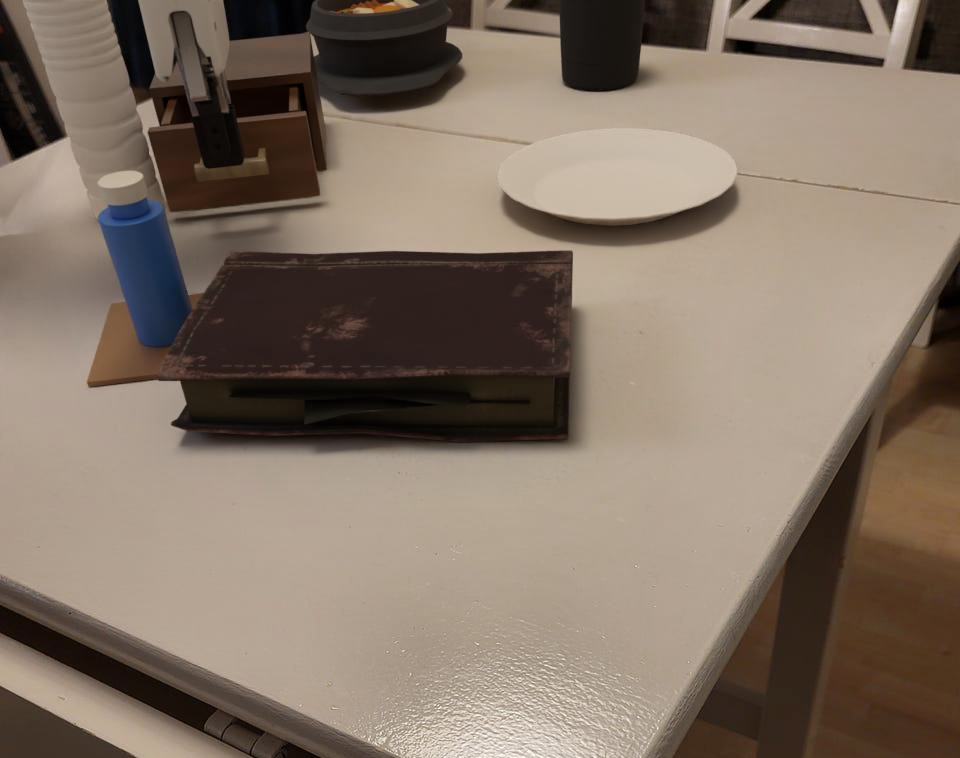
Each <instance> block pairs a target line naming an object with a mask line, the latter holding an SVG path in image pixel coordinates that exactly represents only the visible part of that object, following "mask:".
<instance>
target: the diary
mask: <svg viewBox="0 0 960 758" xmlns="http://www.w3.org/2000/svg"><path fill="white" fill-rule="evenodd" d="M573 266H574V251H573V250H533V251H532V250H531V251H506V252H475V253H474V252H447V251H416V250H415V251H412V250H411V251H410V250H409V251H408V250H381V251H378V250H377V251H356V252H355V251H354V252H352V251H351V252H330V253H329V252H328V253H325V252H324V253H304V252H303V253H302V252H278V251H277V252H275V251H274V252H273V251H272V252H271V251H249V250H248V251H247V250H245V251H244V250H231V251H229V253H228V254H227V256H226V258H225V259H224V261H223V264H221V266H220V267H219V269H218V271H217V272H216V274H215V275H214V278H213V279H212V280H211V282H210V283H209V284H208V286H207V287H206V289H205V290H204V292H202V293H203V294H202V296H201V297H200V299H199V300H198V301H197V303H196V305H195V306H194V308H193V310H192V311H191V313H190V314H189V316H188V318H187V319H186V321H185V323H184V324H183V326H182V328H181V329H180V331H179V333H178V335H177V337H176V339H175V340H174V342H173V344H172V346H171V348H170V350H169V352H168V354H167V356H166V358H165V359H164V361H163V363H162V365H161V368H160V371H159V374H158V377H157V379H156V380H157V381H158V382H180V386H181V390H182V393H183V397H184V399H185V403H186V404H185V406H184V407H183V408H182V411H181V412H180V414H179V415H178V417H177V418H176V419H174V420H172V421H171V423H170V425H171V426H172V427H174V428H177V429H179V430H184V431H185V432H197V433H214V434H215V433H216V434H232V435H233V434H234V435H235V434H236V435H256V436H271V437H272V436H273V437H274V436H304V435H305V436H307V435H309V436H310V435H341V434H343V435H346V434H367V435H378V436H390V437H400V438H412V439H421V440H422V439H424V440H434V441H445V442H457V443H464V442H466V443H468V442H501V441H502V442H504V441H506V442H507V441H527V440H528V441H533V440H536V441H537V440H539V441H540V440H568V439H569V428H570V427H569V425H570V424H569V423H570V388H571V387H570V384H571V383H570V381H571V380H570V379H571V360H572V359H571V358H572V357H571V353H572V318H573V317H572V314H573V313H572V312H573V310H572V308H573V270H574V267H573Z"/></svg>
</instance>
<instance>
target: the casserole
mask: <svg viewBox="0 0 960 758" xmlns="http://www.w3.org/2000/svg"><path fill="white" fill-rule="evenodd" d="M453 15H454V13H453V11H452V9H451V8H450V7H449V6H448V5H447V3H446V0H314V1H313V2H312V4H311V7H310V17H309V19H308V21H307V22H306V24H305V29H306V31H307V32H308V33H310V36H312V37H313V39H314V43H315V45H316V49H317V51H318V54H315V55H314V61H315V67H316V73H317V79H318V82H321V83H322V84H325V85H326V86H327V87H328V88H329V89H331V90H332V91H333V92H334V93H337V94H340V95H342V96H355V97H357V96H358V97H359V96H360V97H361V96H362V97H363V96H364V97H369V96H386V95H387V96H388V95H395V94H403V93H409V92H413V91H418V90H423V89H426V88H430V87H432V86H434V85H435V84H437V83H438V82H439V81H440V79H441V78H442V77H443V76H444V75H445V74H446V73H447V72H448V71H450V70H451V69H453V68H454V67H455V66H457V65H458V64H459V63H460V62H461V61H462V59H463V52H462V51H461V49H460V48H459V47H458V46H456V45H455V44H453V43H451V42H448V41H447V36H448V35H447V34H448V24H449V23H450V21H451V20H452V18H453Z"/></svg>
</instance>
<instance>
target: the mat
mask: <svg viewBox="0 0 960 758" xmlns="http://www.w3.org/2000/svg"><path fill="white" fill-rule="evenodd" d="M203 293H204V292H200V293H191V294H188V295H189V299H190V302H191V306H192V309H193V308H194V306H195V305H196V303H197V301H198V300H199V299H200V297H201V296H202V294H203ZM97 345H98V346H97V348H96V352H95V354H94V358H93V360H92V364H91V366H90V367H91V368H90V370H89V374H88V378H87V381H86V384H87V386H88V388H90V387H92V388H93V387H100V386H107V385H116V384H123V383H125V384H126V383H133V382H140V381H141V382H142V381H149V380H157V377H158V374H159V371H160V368H161V365H162V363H163V361H164V359H165V358H166V356H167V354H168V352H169V350H170V348H171V346H172V345H171V346H165V347H151V346H147V345H144V344H142V343H141V342H140V341H139V340H138V338H137V335H136V332H135V329H134V326H133V323H132V320H131V317H130V314H129V311H128V308H127V305H126V302H125V301H121V302H112V303H110V306H109V309H108V313H107V316H106V318H105V322H104V326H103V329H102V332H101V336H100V337H99V342H98V344H97Z"/></svg>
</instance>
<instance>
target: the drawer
mask: <svg viewBox="0 0 960 758" xmlns="http://www.w3.org/2000/svg"><path fill="white" fill-rule="evenodd" d="M229 94H230V99H231V104H228V105H234V108H235V113H236V117H237V122H238V126H239V131H240V135H241V139H242V144H243V148H244V153H245V155H244V162H243V164H242V165H238V166H230V167H221V168H212V169H207V168H206V167H205V166H204V165H203V161H202V157H201V153H200V149H199V145H198V142H197V138H196V134H195V130H194V126H193V122H192V118H191V114H192V113H191V110H190V106H189V102H188V99H187V95H181V96H172V97H170V98H169V101H168V104H167V107H166V110H165V114H164V117H163V120H162V123H161V126H159V125H158V126H149V127H148V130H147V136H148V139H149V143H150V147H151V150H152V153H153V157H154V161H155V164H156V168H157V172H158V175H159V179H160V182H161V185H162V189H163V192H164V196H165V199H166V203H167V207H168V211H169V213H176V212H178V213H179V212H187V211H196V210H203V209H212V208H213V209H214V208H221V207H230V206H231V207H232V206H240V205H249V204H258V203H268V202H276V201H285V200H293V199H294V200H295V199H303V198H311V197H313V198H314V197H319V196H321V189H320V183H319V177H318V170H317V171H316V165H315V159H314V153H313V147H312V141H311V136H310V130H309V124H308V118H307V112H306V111H304V108H303V102H302V96H301V90H300V84H299V83H296V84H287V85H277V86H268V87H258V88H248V89H239V90H229Z"/></svg>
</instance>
